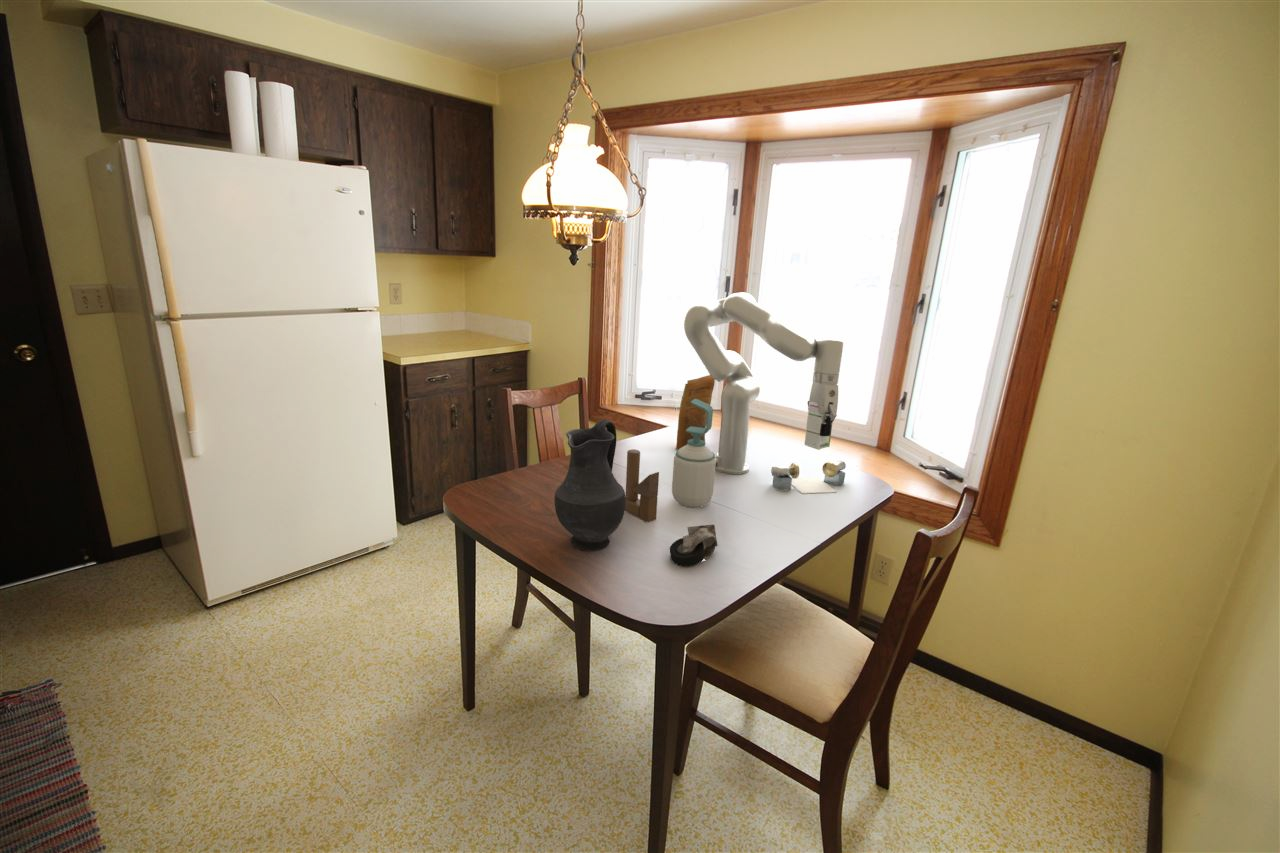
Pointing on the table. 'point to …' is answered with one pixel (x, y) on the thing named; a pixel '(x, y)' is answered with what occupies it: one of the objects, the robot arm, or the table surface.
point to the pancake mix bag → (693, 408)
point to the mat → (811, 486)
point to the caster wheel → (694, 546)
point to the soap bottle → (695, 466)
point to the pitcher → (591, 488)
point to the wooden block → (640, 490)
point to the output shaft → (834, 472)
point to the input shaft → (784, 476)
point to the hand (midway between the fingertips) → (818, 431)
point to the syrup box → (815, 429)
